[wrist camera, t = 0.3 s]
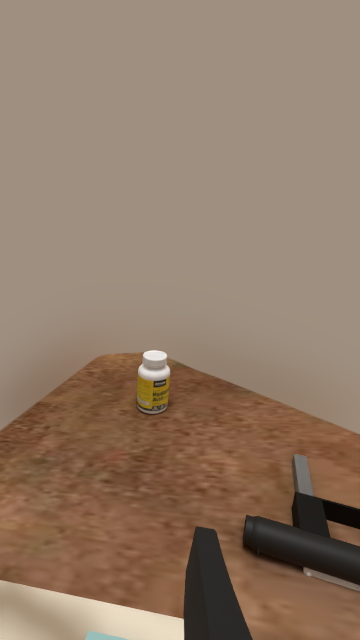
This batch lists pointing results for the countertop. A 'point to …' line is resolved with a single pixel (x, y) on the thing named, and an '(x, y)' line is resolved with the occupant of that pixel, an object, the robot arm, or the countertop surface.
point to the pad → (101, 636)
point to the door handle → (309, 534)
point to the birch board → (76, 617)
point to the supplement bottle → (153, 382)
